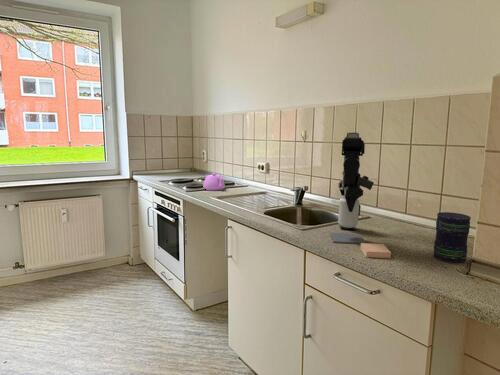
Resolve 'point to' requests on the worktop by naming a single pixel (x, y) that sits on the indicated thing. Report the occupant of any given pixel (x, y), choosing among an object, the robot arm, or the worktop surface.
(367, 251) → the tile
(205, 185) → the teapot
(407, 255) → the worktop surface
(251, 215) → the worktop surface
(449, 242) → the storage jar
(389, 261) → the worktop surface
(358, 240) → the mat
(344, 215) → the can
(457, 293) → the worktop surface
